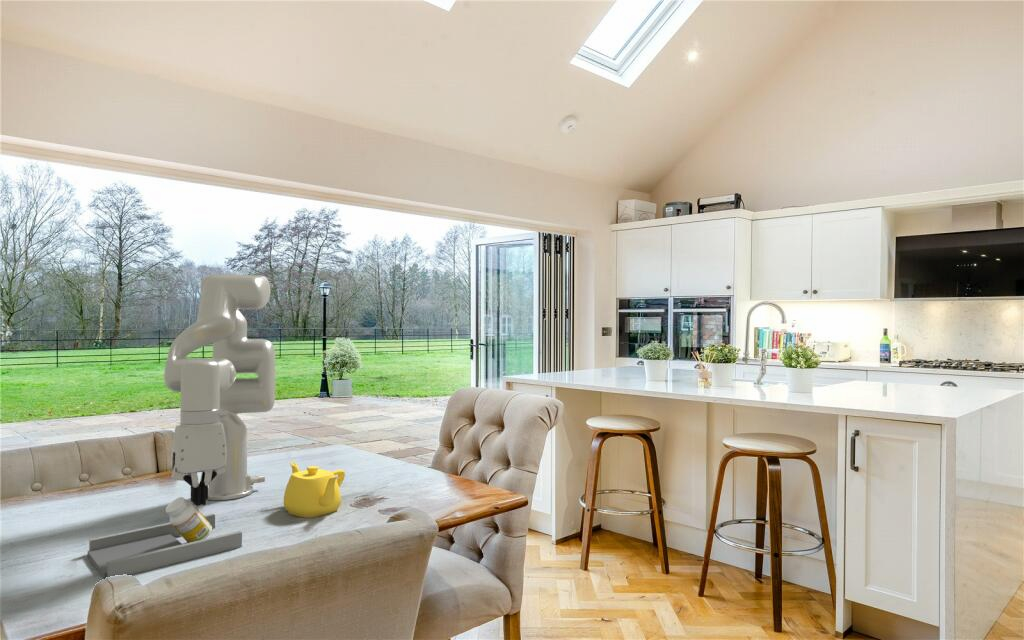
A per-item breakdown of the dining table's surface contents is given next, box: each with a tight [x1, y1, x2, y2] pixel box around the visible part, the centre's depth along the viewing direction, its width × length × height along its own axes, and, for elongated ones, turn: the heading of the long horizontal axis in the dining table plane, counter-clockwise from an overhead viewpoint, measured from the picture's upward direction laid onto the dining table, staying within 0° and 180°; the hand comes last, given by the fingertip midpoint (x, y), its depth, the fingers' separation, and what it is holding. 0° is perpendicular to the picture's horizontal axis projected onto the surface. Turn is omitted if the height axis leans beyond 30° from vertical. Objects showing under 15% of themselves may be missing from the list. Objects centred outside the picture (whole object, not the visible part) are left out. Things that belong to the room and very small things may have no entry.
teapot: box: [283, 461, 346, 519], centre depth 156 cm, size 22×16×11 cm
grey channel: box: [87, 513, 243, 579], centre depth 127 cm, size 24×17×3 cm
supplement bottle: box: [165, 496, 213, 543], centre depth 130 cm, size 5×5×10 cm
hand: (199, 504), depth 131 cm, fingers closed
